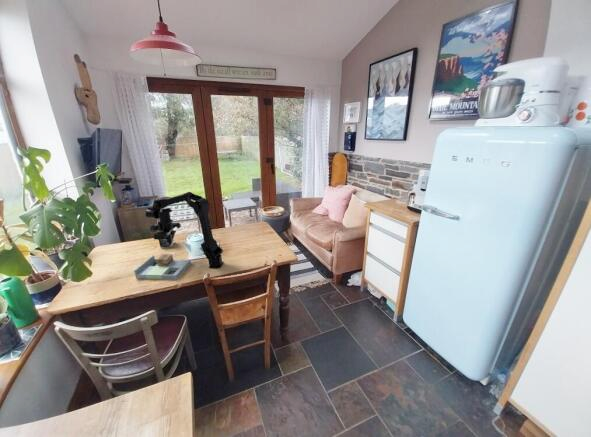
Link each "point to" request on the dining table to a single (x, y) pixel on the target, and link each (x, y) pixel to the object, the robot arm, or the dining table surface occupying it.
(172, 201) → the robot arm
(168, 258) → the walnut block
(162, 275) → the box
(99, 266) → the dining table surface
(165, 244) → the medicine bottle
